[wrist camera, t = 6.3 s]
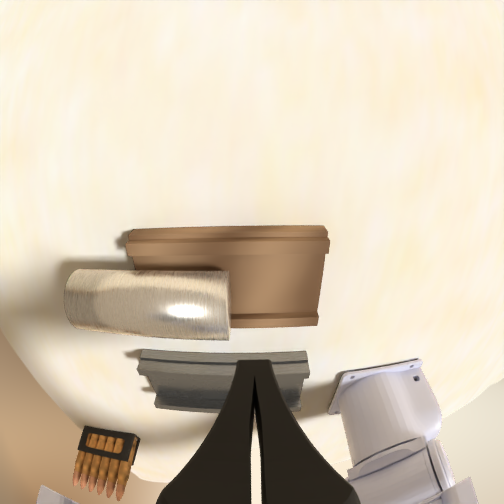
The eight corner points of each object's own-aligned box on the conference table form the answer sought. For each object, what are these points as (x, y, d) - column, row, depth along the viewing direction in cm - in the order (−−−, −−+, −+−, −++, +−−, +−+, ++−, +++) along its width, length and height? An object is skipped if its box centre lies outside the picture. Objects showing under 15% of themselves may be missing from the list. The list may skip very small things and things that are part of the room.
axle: (229, 257, 16) (224, 300, 13) (231, 309, 18) (228, 354, 15) (85, 257, 16) (56, 292, 13) (100, 303, 18) (79, 341, 15)
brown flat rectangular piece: (323, 225, 17) (330, 236, 15) (312, 314, 20) (316, 328, 18) (133, 229, 16) (124, 239, 15) (153, 314, 20) (147, 328, 18)
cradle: (306, 351, 22) (310, 370, 20) (297, 394, 25) (300, 411, 23) (142, 349, 22) (136, 367, 20) (160, 392, 25) (156, 408, 23)
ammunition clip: (90, 430, 33) (73, 486, 22) (84, 425, 32) (66, 482, 21) (140, 438, 32) (127, 504, 21) (134, 433, 31) (119, 500, 20)
